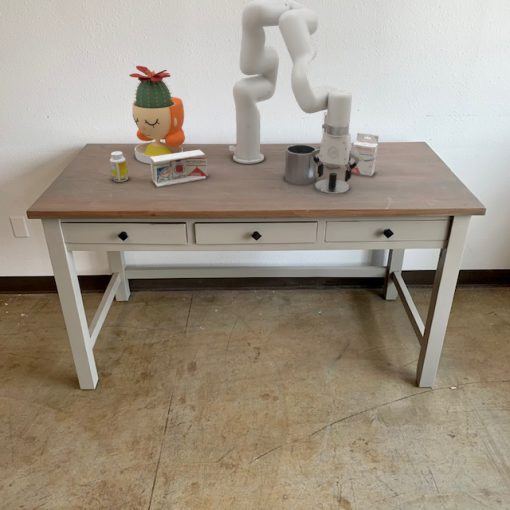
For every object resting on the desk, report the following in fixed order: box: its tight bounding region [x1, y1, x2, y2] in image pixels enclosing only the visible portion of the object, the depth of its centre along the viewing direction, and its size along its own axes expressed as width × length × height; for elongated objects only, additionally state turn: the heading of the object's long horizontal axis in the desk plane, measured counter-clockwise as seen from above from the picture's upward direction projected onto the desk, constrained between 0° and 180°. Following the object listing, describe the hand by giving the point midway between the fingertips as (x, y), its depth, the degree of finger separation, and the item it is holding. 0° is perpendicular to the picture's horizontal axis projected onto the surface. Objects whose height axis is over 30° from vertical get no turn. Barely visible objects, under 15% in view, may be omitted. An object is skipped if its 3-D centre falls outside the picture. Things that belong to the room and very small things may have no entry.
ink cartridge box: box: [350, 132, 380, 177], centre depth 180 cm, size 9×5×15 cm, turn 65°
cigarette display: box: [150, 149, 208, 188], centre depth 176 cm, size 20×6×9 cm, turn 115°
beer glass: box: [321, 111, 327, 134], centre depth 205 cm, size 7×7×15 cm
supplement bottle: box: [109, 150, 129, 183], centre depth 175 cm, size 6×6×10 cm
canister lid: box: [314, 172, 350, 195], centre depth 170 cm, size 12×12×6 cm
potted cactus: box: [129, 65, 186, 165], centre depth 192 cm, size 22×22×35 cm
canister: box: [284, 143, 318, 185], centre depth 176 cm, size 11×11×12 cm
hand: (333, 178), depth 169 cm, fingers open, 9 cm apart
